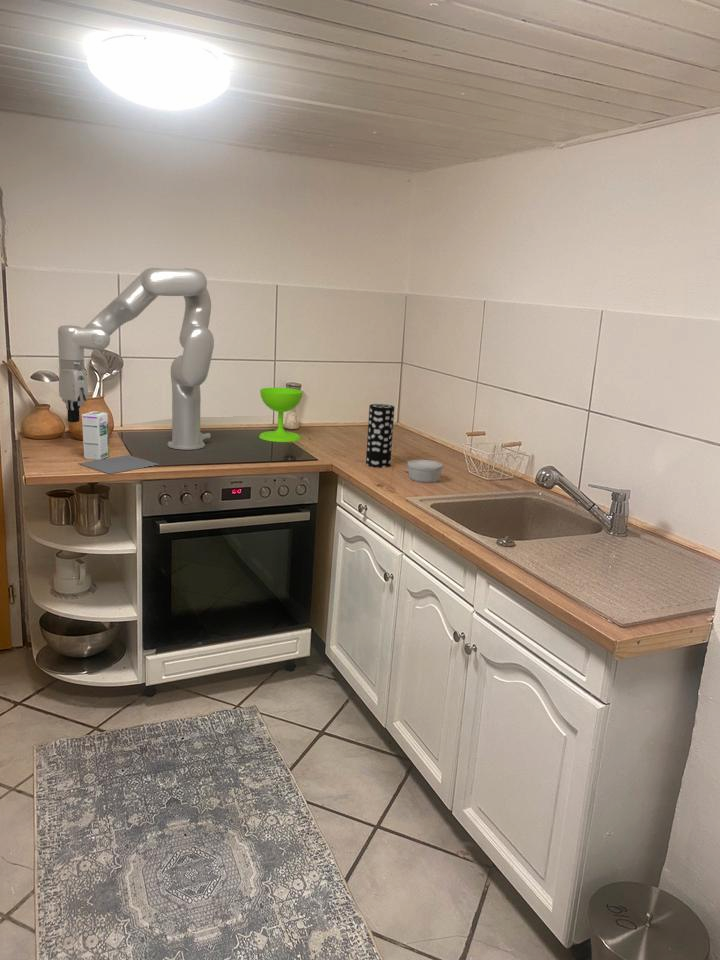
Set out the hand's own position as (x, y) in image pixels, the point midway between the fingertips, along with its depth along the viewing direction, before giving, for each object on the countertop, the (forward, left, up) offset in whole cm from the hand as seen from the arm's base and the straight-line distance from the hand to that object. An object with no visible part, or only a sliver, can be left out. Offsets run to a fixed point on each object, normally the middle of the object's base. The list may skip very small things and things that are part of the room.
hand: (73, 421), depth 243 cm
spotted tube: (-65, +76, -10) cm, 101 cm away
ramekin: (-61, +97, -10) cm, 115 cm away
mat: (0, +24, -10) cm, 26 cm away
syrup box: (0, +12, -10) cm, 16 cm away
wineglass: (-71, +25, -10) cm, 76 cm away
